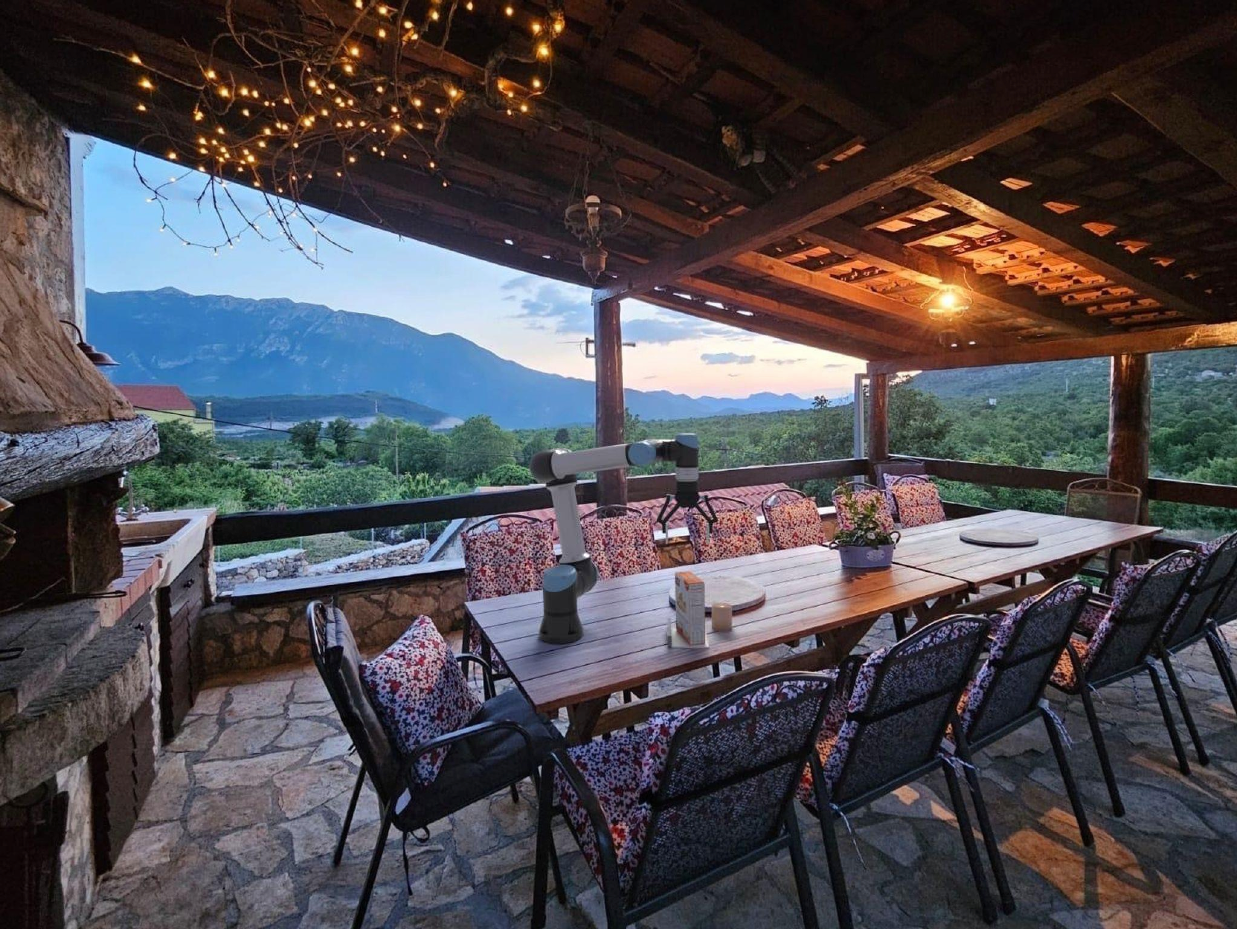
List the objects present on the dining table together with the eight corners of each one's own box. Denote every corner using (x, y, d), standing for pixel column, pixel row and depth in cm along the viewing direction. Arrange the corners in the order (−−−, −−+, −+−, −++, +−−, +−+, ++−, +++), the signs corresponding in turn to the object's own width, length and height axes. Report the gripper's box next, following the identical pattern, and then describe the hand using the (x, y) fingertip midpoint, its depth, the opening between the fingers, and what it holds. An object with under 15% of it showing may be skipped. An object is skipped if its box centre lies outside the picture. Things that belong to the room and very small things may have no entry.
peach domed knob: (712, 631, 192) (712, 609, 192) (711, 624, 199) (710, 602, 199) (733, 631, 192) (733, 609, 191) (730, 624, 199) (730, 602, 198)
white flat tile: (667, 647, 179) (667, 635, 179) (667, 629, 195) (667, 618, 195) (708, 648, 178) (708, 636, 178) (705, 629, 194) (705, 618, 194)
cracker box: (674, 630, 193) (674, 571, 191) (691, 628, 194) (690, 570, 192) (688, 646, 179) (687, 583, 177) (705, 644, 180) (705, 581, 179)
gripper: (649, 481, 180) (649, 545, 182) (726, 481, 178) (726, 545, 180) (649, 478, 188) (650, 540, 189) (723, 478, 185) (723, 540, 187)
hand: (687, 543), depth 184 cm, fingers open, 13 cm apart
